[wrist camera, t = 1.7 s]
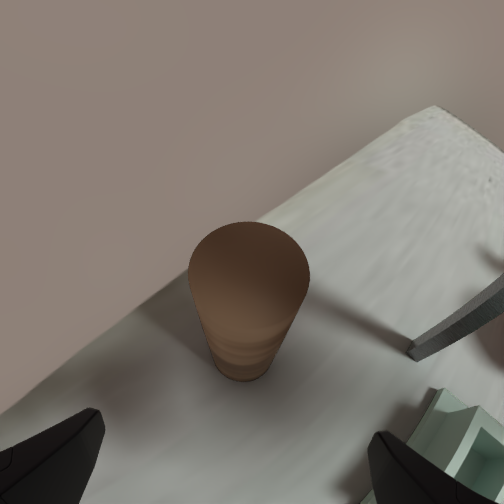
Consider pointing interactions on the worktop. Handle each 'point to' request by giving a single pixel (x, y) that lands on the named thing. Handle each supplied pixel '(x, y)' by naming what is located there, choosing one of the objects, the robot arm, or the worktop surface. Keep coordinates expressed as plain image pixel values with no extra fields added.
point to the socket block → (461, 445)
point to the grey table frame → (461, 321)
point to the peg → (247, 294)
